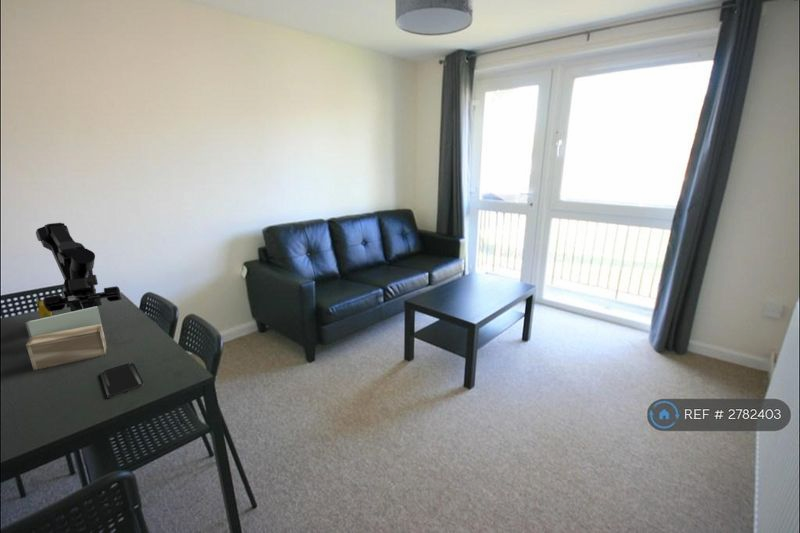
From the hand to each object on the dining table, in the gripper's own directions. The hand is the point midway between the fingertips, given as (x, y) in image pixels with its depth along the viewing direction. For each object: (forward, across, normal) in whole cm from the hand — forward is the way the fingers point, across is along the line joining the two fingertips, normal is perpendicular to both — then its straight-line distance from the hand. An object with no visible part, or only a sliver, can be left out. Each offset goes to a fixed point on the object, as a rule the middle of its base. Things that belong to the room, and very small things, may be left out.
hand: (87, 322), depth 116 cm
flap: (+7, -5, +4) cm, 9 cm away
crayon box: (-9, -13, +20) cm, 25 cm away
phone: (+27, +8, -15) cm, 31 cm away
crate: (+11, -4, 0) cm, 12 cm away
